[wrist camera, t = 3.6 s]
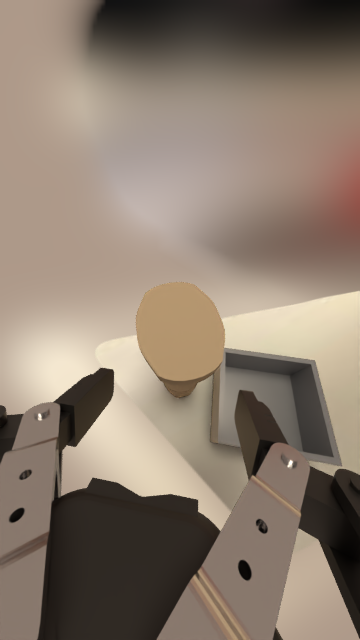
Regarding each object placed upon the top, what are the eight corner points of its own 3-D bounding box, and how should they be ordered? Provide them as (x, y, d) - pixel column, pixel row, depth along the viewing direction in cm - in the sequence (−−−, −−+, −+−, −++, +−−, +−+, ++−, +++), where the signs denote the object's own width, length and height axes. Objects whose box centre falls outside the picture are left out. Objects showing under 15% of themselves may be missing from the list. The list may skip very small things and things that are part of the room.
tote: (290, 373, 23) (314, 360, 19) (306, 459, 19) (342, 466, 14) (214, 362, 24) (221, 347, 20) (209, 441, 20) (217, 443, 15)
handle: (192, 357, 25) (203, 277, 12) (206, 407, 21) (241, 368, 9) (157, 364, 24) (132, 289, 12) (166, 417, 21) (143, 391, 8)
